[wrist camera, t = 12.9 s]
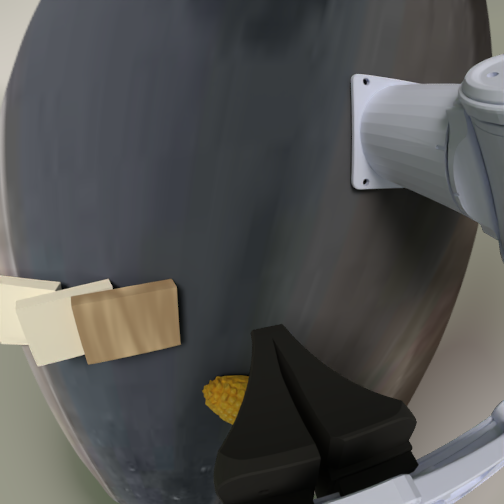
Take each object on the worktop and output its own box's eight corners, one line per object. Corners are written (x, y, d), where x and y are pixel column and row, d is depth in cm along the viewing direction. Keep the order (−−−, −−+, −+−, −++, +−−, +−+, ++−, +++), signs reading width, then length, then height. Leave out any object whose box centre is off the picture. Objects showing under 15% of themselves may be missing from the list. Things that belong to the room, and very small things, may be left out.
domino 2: (112, 286, 20) (15, 309, 16) (123, 343, 22) (37, 366, 18) (108, 278, 21) (15, 300, 16) (119, 334, 23) (36, 356, 19)
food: (382, 388, 32) (404, 425, 27) (353, 418, 34) (371, 455, 28) (213, 351, 25) (220, 407, 20) (188, 392, 27) (191, 445, 21)
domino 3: (176, 286, 21) (71, 306, 17) (180, 344, 22) (88, 364, 19) (171, 278, 21) (70, 296, 18) (175, 335, 23) (86, 353, 20)
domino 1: (54, 290, 18) (-21, 280, 17) (66, 347, 20) (-6, 334, 18) (60, 282, 19) (-14, 273, 18) (70, 337, 21) (0, 325, 20)
